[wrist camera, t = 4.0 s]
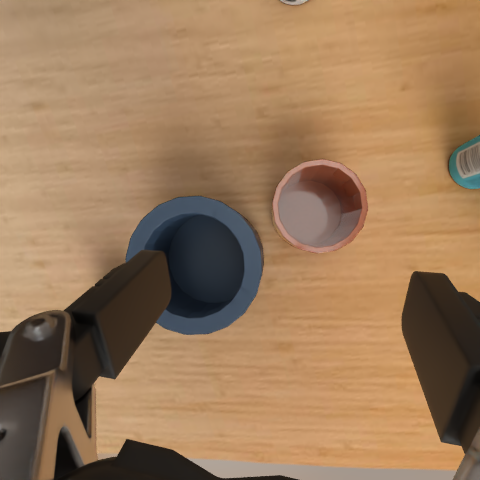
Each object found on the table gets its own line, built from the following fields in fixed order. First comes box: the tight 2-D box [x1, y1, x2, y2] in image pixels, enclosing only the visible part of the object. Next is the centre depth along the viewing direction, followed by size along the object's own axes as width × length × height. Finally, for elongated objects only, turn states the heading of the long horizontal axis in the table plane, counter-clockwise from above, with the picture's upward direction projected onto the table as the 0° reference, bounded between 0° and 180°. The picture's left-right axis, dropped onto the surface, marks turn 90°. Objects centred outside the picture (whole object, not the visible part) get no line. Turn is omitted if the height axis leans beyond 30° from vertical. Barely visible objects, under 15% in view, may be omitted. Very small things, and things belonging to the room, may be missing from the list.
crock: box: [271, 159, 368, 253], centre depth 29 cm, size 8×8×8 cm
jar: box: [125, 196, 264, 335], centre depth 29 cm, size 11×11×10 cm
